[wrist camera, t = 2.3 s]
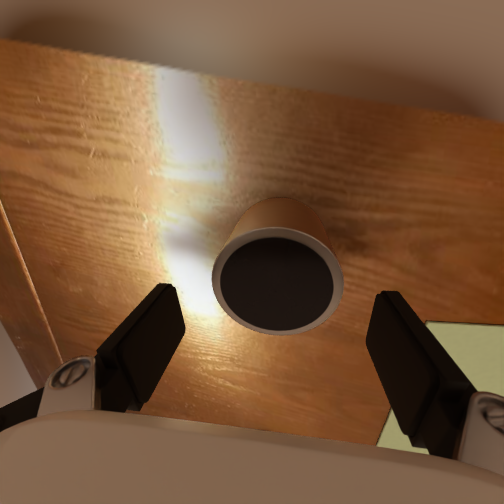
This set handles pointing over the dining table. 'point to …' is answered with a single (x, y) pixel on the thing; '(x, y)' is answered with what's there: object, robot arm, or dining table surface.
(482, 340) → the trivet mat
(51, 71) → the dining table surface
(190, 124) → the dining table surface
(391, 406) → the robot arm
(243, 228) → the steel pot
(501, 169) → the dining table surface
